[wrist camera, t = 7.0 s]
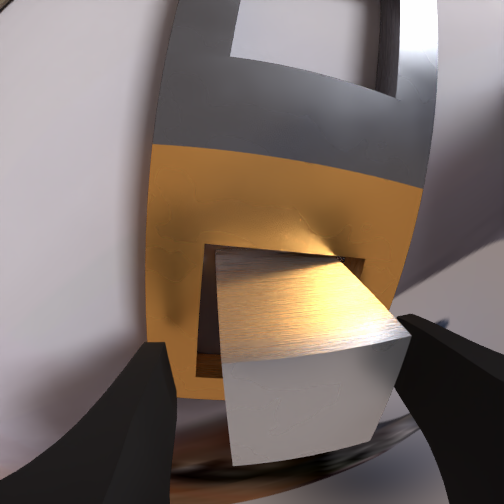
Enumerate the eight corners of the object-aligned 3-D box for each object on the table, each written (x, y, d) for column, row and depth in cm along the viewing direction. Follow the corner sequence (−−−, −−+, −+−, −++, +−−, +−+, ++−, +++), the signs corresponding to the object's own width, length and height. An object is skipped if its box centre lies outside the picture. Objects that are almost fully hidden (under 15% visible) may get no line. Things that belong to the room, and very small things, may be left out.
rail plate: (415, -12, 8) (433, -22, 6) (342, 374, 14) (353, 394, 12) (209, -70, 6) (210, -90, 5) (155, 371, 12) (151, 394, 11)
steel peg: (322, 244, 11) (411, 335, 6) (314, 332, 13) (369, 440, 7) (215, 249, 11) (221, 363, 5) (221, 340, 12) (233, 466, 7)
